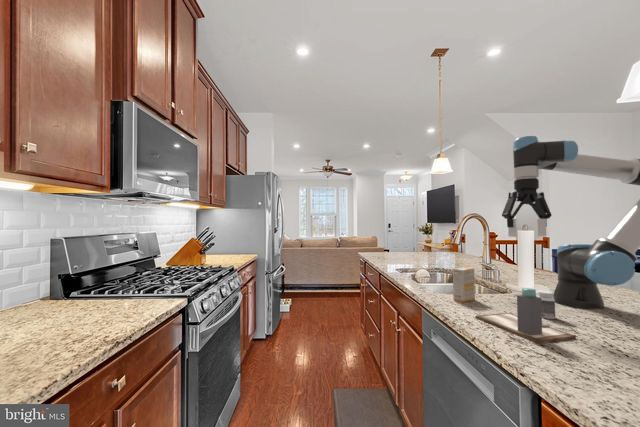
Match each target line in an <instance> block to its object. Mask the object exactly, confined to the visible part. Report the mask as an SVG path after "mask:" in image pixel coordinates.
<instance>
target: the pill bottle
mask: <svg viewBox="0 0 640 427" xmlns="http://www.w3.org/2000/svg"><path fill="white" fill-rule="evenodd" d="M537 292H538V297H540V298H541V306H542V319H549V320H554V319H556V302H555V299H554V298H553V294H554V292H552V291H549V290H548V291H547V290H538V291H537Z"/></svg>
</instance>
